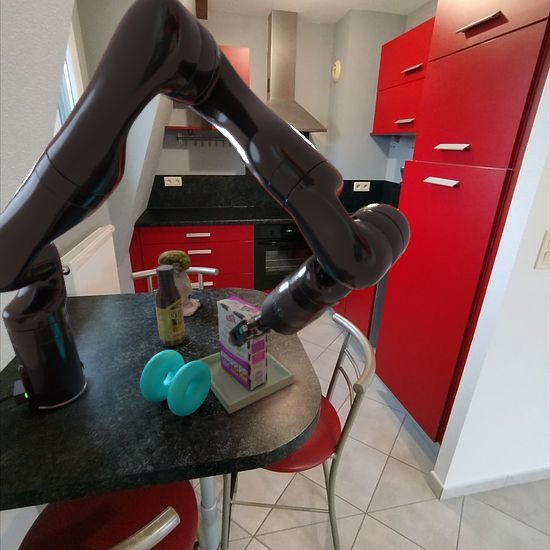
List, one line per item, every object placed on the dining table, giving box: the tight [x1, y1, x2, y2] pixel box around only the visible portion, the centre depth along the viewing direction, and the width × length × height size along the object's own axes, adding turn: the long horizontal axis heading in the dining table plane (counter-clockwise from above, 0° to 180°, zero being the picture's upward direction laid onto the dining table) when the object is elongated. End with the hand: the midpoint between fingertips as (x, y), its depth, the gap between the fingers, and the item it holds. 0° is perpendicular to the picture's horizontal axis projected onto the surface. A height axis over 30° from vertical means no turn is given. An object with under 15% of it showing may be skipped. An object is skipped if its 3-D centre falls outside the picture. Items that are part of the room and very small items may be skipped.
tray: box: [196, 351, 295, 415], centre depth 70 cm, size 15×16×2 cm
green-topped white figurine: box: [157, 249, 201, 317], centre depth 95 cm, size 12×13×18 cm
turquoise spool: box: [139, 349, 211, 417], centre depth 61 cm, size 10×10×10 cm
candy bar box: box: [216, 295, 268, 391], centre depth 67 cm, size 11×5×16 cm, turn 41°
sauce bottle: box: [154, 265, 186, 347], centre depth 79 cm, size 7×6×20 cm
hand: (257, 334), depth 61 cm, fingers open, 8 cm apart
